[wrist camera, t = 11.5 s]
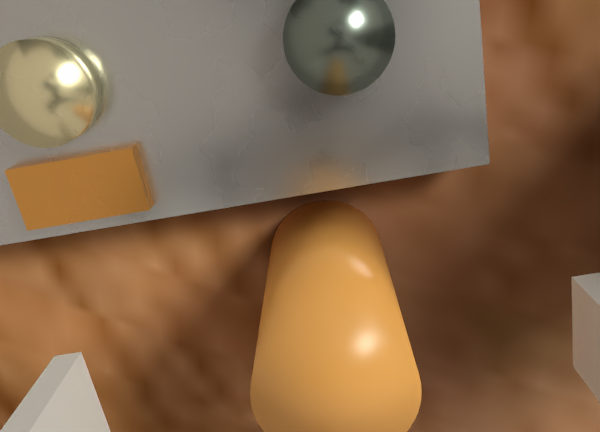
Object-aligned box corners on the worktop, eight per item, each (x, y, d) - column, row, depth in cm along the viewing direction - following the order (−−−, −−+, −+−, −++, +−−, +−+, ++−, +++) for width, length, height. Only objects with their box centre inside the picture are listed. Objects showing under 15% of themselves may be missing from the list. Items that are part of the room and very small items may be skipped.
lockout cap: (261, 210, 20) (232, 337, 13) (372, 191, 20) (411, 310, 12) (282, 307, 22) (269, 472, 14) (387, 291, 21) (430, 451, 14)
